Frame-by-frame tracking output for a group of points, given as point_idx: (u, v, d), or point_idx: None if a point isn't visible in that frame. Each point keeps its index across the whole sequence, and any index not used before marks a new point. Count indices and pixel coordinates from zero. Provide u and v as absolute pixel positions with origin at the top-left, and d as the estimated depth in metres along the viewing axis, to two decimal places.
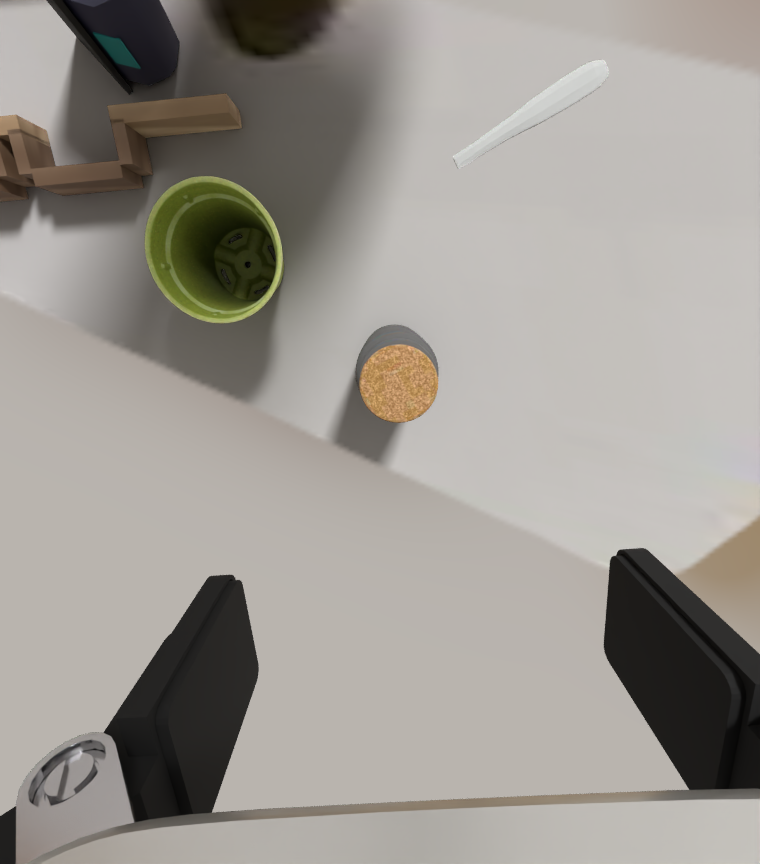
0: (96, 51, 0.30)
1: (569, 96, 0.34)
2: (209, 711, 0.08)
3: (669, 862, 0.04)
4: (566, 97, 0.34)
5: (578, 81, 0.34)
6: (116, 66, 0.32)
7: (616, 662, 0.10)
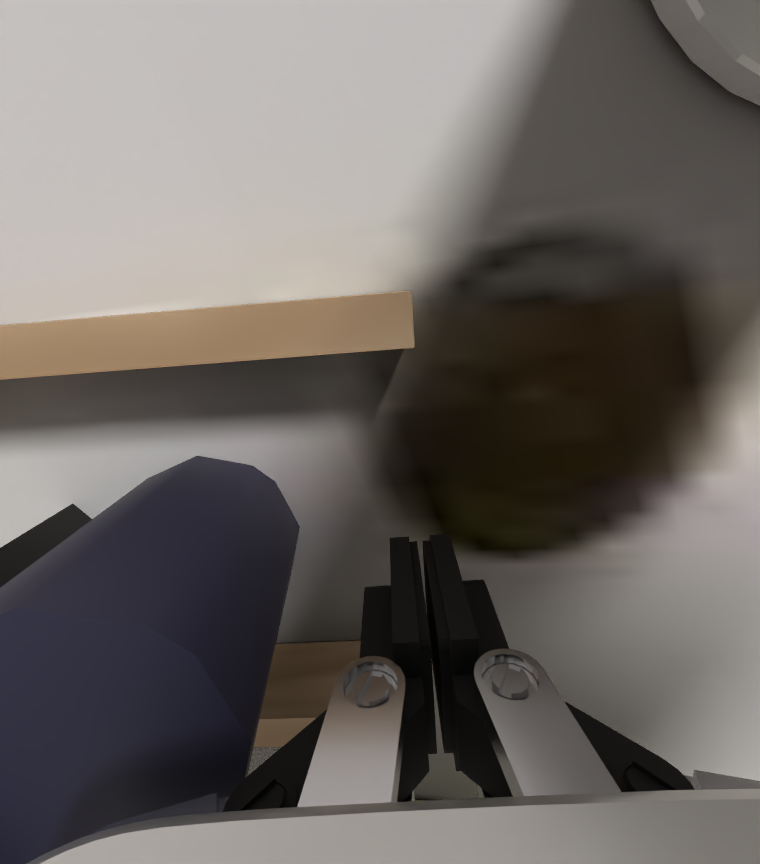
0: None
1: None
2: None
3: (667, 861, 0.04)
4: None
5: None
6: None
7: (429, 635, 0.12)
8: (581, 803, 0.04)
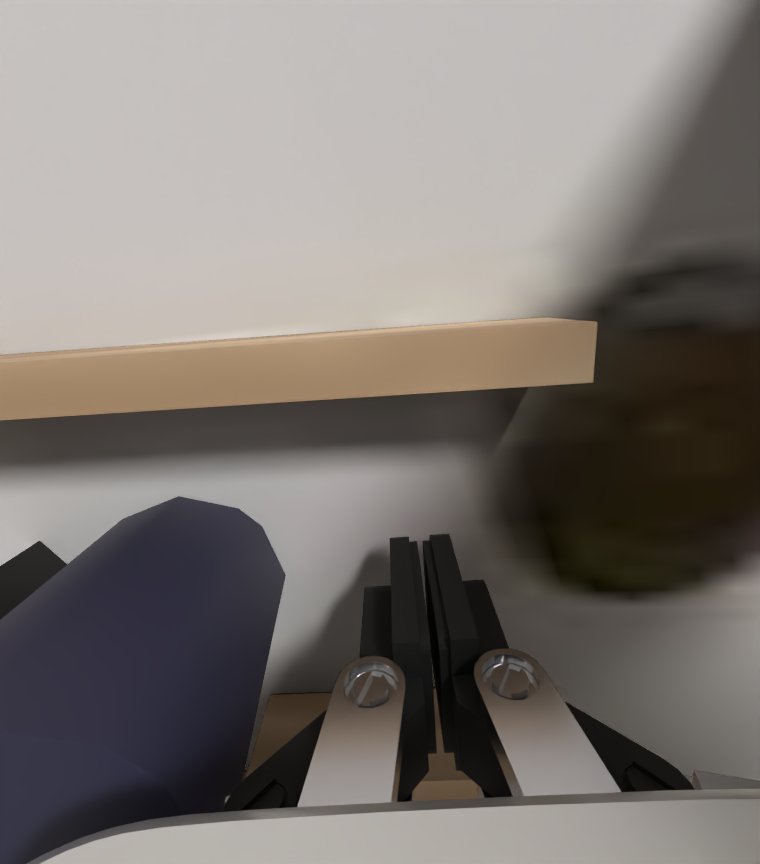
0: None
1: None
2: None
3: (668, 862, 0.04)
4: None
5: None
6: None
7: (429, 635, 0.12)
8: (581, 803, 0.04)
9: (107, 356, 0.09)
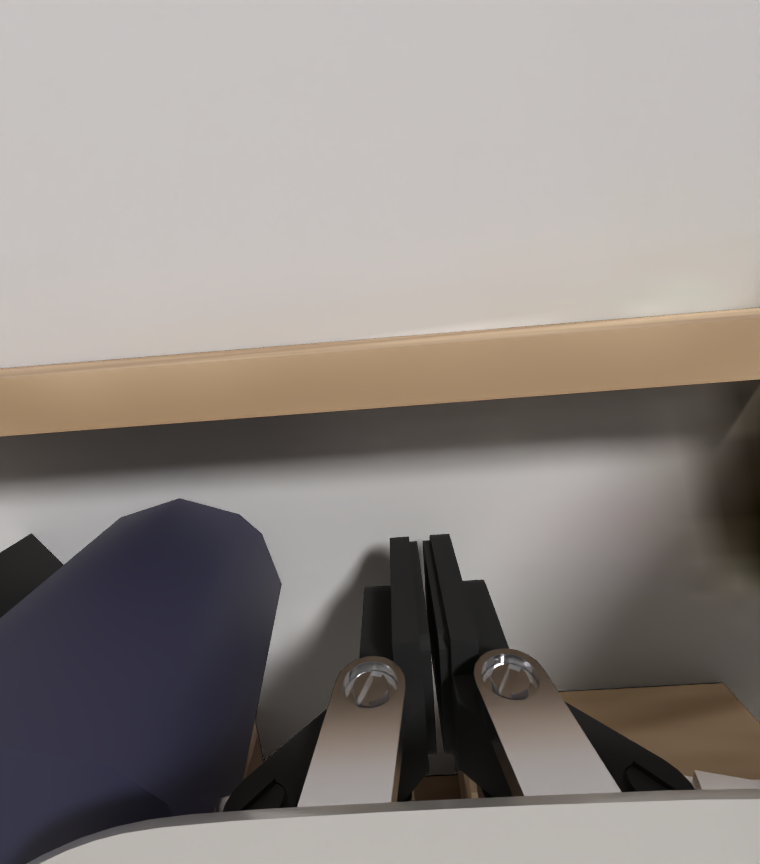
0: None
1: None
2: None
3: (668, 862, 0.04)
4: None
5: None
6: None
7: (429, 635, 0.12)
8: (581, 803, 0.04)
9: (415, 346, 0.09)
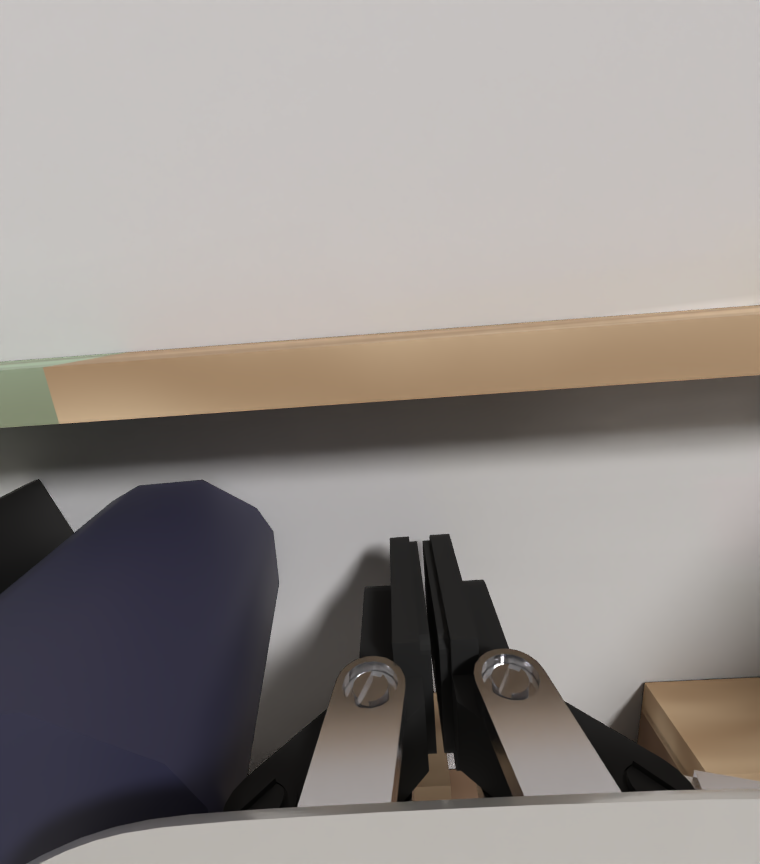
0: None
1: None
2: None
3: (669, 862, 0.04)
4: None
5: None
6: None
7: (429, 635, 0.12)
8: (581, 803, 0.04)
9: (749, 316, 0.08)
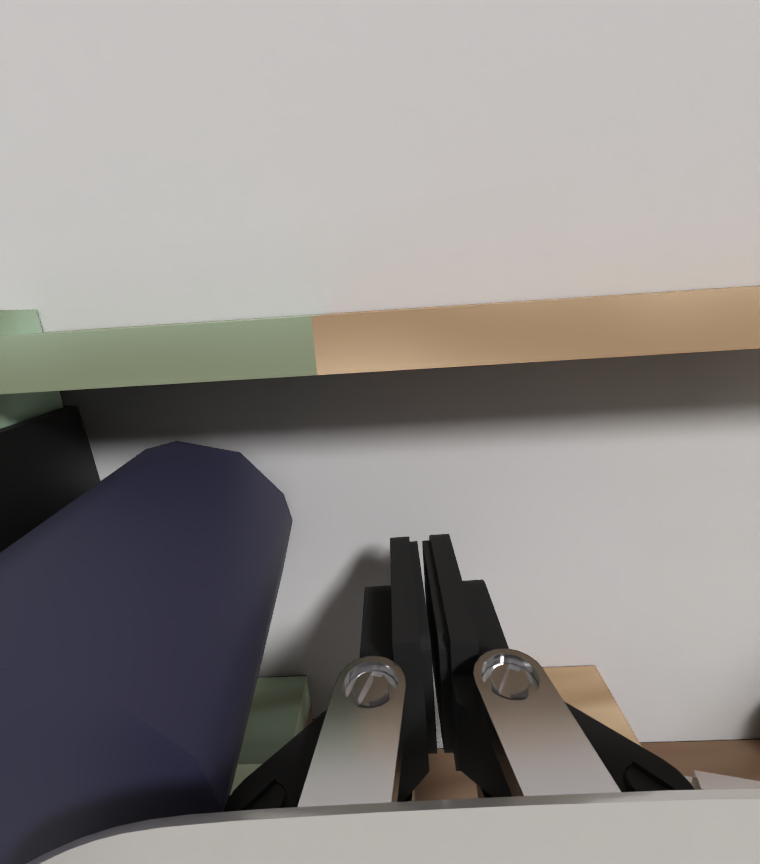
0: None
1: None
2: None
3: (668, 862, 0.04)
4: None
5: None
6: None
7: None
8: (581, 803, 0.04)
9: None
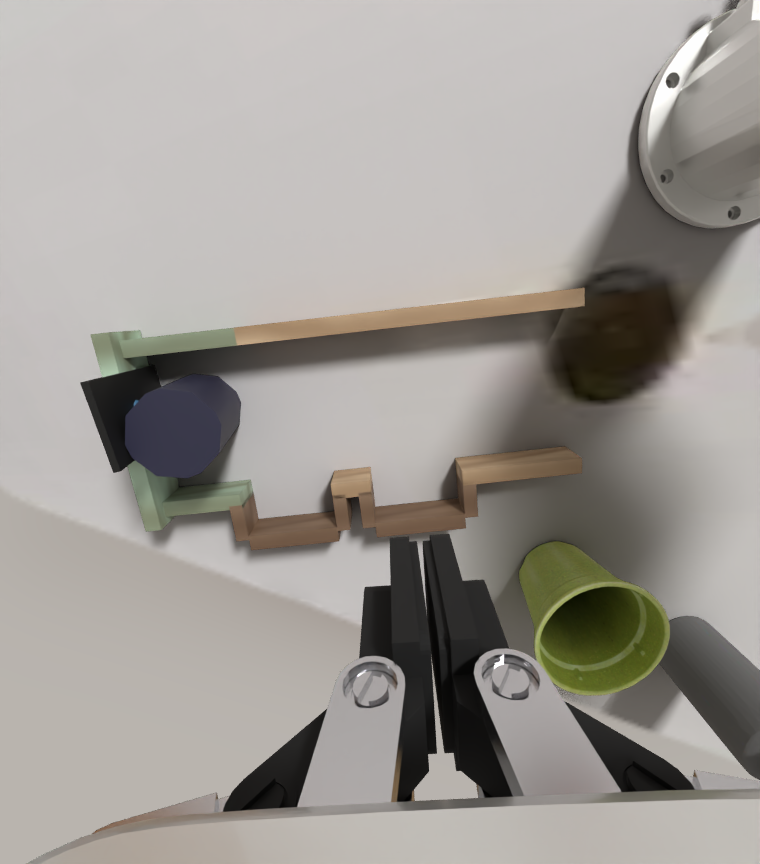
0: None
1: None
2: None
3: (668, 862, 0.04)
4: None
5: None
6: None
7: (429, 635, 0.12)
8: (581, 803, 0.04)
9: (439, 304, 0.29)
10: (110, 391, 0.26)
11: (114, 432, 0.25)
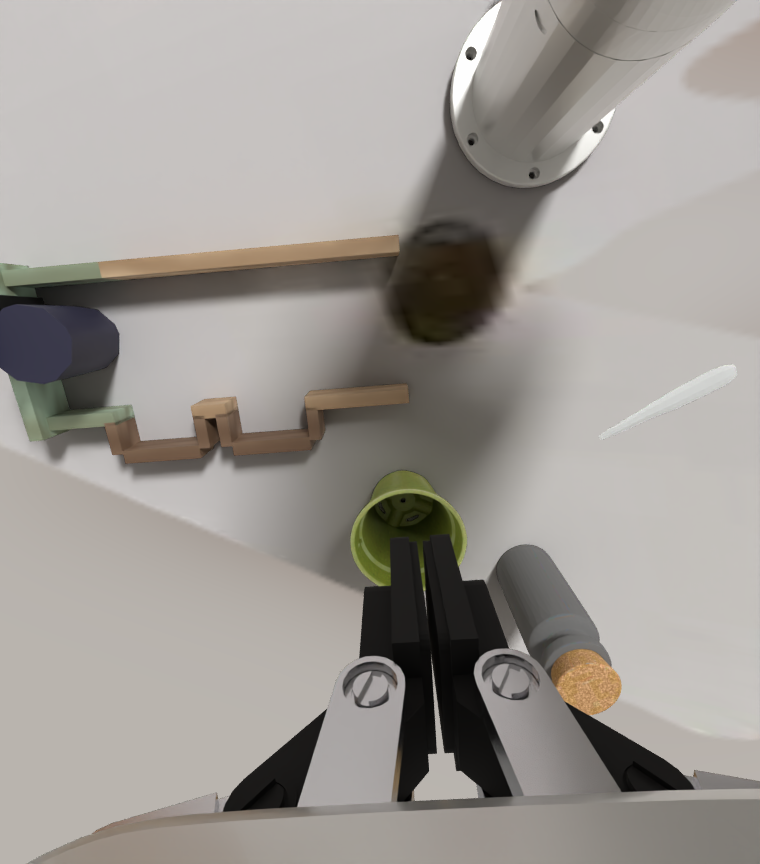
0: None
1: (702, 391, 0.40)
2: None
3: (668, 861, 0.04)
4: (699, 391, 0.40)
5: (710, 380, 0.39)
6: None
7: (429, 635, 0.12)
8: (581, 803, 0.04)
9: (273, 246, 0.34)
10: None
11: None
